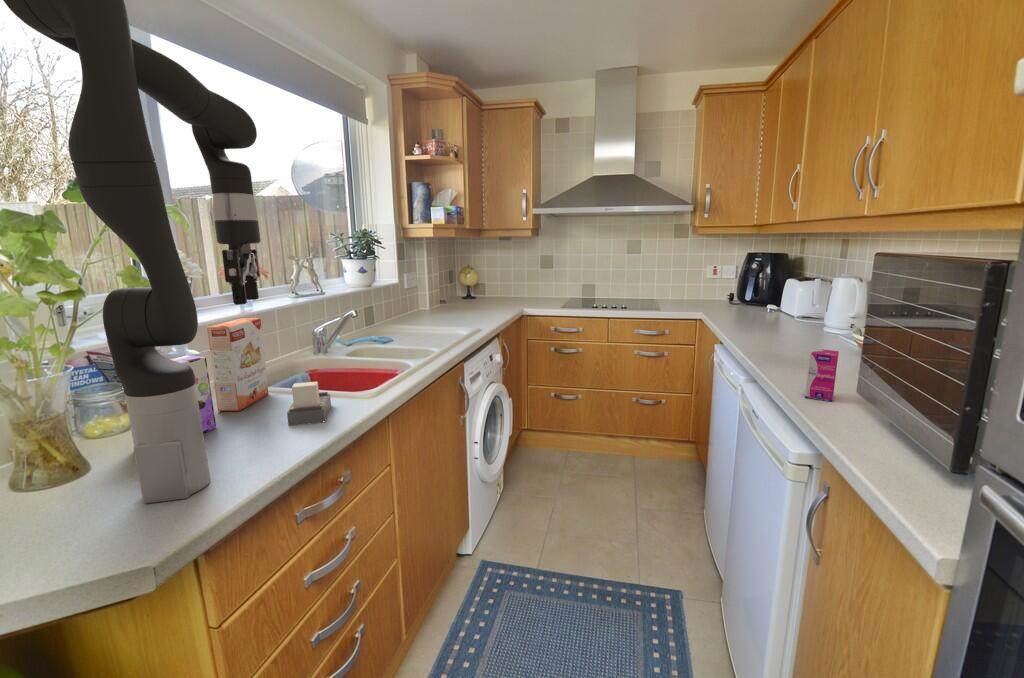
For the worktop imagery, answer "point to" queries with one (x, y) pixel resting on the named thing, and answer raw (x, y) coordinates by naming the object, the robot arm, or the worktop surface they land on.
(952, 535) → the worktop surface
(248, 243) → the robot arm
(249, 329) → the cracker box
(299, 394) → the fader tab
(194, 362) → the candy box
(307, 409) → the fader console
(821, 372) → the supplement box
